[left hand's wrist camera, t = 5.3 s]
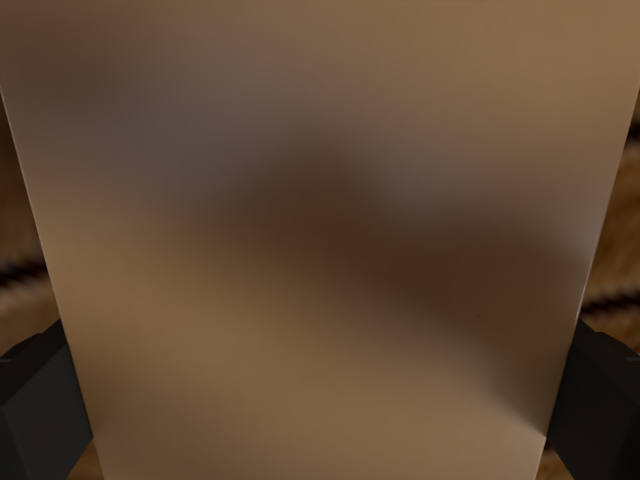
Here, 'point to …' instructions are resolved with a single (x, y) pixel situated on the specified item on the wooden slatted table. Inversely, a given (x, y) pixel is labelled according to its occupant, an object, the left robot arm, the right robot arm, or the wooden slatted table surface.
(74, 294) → the cabinet
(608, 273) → the wooden slatted table surface
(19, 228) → the wooden slatted table surface
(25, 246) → the wooden slatted table surface
